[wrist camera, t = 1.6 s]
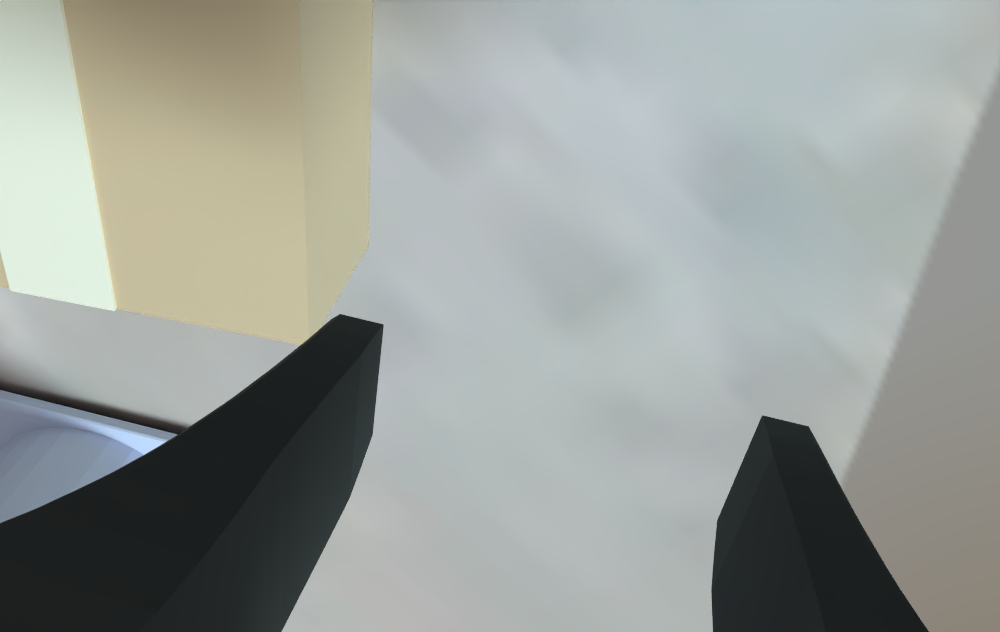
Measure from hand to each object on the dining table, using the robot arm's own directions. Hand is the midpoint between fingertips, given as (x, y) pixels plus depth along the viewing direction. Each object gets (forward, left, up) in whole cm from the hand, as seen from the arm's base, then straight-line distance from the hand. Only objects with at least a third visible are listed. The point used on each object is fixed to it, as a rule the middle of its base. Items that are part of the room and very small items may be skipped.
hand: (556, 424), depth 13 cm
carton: (0, +11, -10) cm, 15 cm away
